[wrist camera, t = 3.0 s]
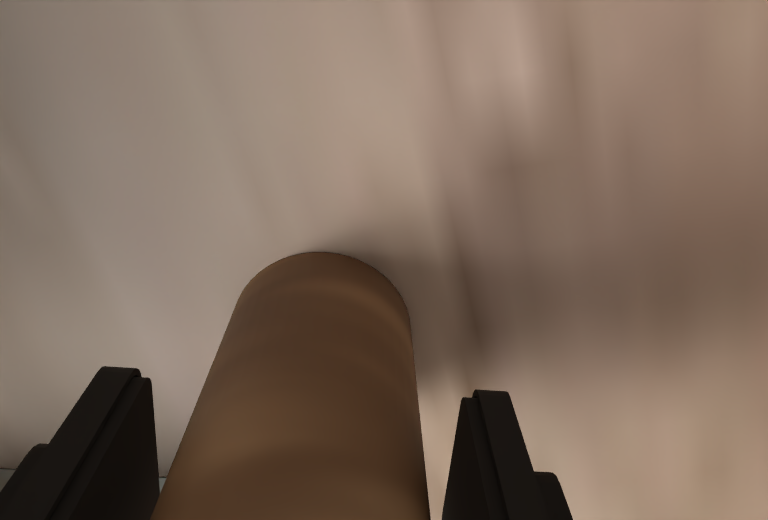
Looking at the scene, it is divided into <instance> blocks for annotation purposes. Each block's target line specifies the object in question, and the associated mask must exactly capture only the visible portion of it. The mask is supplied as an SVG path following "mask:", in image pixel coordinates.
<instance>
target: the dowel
mask: <svg viewBox="0 0 768 520" xmlns="http://www.w3.org/2000/svg"><path fill="white" fill-rule="evenodd" d="M150 520H431V519H430V509H429V500H428V490H427V481H426V471H425V461H424V452H423V442H422V433H421V423H420V413H419V404H418V394H417V385H416V375H415V365H414V356H413V346H412V337H411V327H410V319H409V315H408V311H407V308H406V306H405V303H404V301H403V299H402V297H401V296H400V294H399V292H398V291H397V289H396V288H395V287H394V286H393V285H392V283H391V282H390V281H389V280H388V279H387V278H386V277H385V276H383V275H382V274H381V273H380V272H378V271H377V270H376V269H374V268H373V267H371V266H369V265H367V264H365V263H364V262H362V261H359V260H357V259H354V258H351V257H348V256H344V255H340V254H334V253H327V252H312V253H303V254H298V255H294V256H290V257H287V258H284V259H281V260H279V261H277V262H275V263H273V264H271V265H269V266H268V267H266V268H265V269H263V270H262V271H261V272H259V273H258V274H257V275H256V276H255V277H254V278H253V279H252V280H251V281H250V282H249V283H248V285H247V286H246V287H245V288H244V290H243V292H242V293H241V295H240V297H239V299H238V301H237V304H236V306H235V309H234V311H233V314H232V316H231V319H230V321H229V324H228V326H227V329H226V331H225V334H224V336H223V339H222V341H221V344H220V346H219V349H218V351H217V354H216V356H215V359H214V361H213V364H212V366H211V369H210V371H209V374H208V376H207V379H206V381H205V384H204V386H203V388H202V391H201V393H200V396H199V398H198V401H197V403H196V406H195V408H194V411H193V413H192V416H191V418H190V421H189V423H188V426H187V428H186V431H185V433H184V436H183V438H182V441H181V443H180V446H179V448H178V451H177V453H176V456H175V458H174V461H173V463H172V466H171V468H170V471H169V473H168V476H167V478H166V480H165V483H164V485H163V488H162V490H161V493H160V495H159V498H158V500H157V503H156V505H155V508H154V510H153V513H152V515H151V518H150Z"/></svg>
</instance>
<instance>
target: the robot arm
mask: <svg viewBox="0 0 768 520" xmlns="http://www.w3.org/2000/svg"><path fill="white" fill-rule="evenodd" d="M159 495H160V487H159V474H158V460H157V447H156V434H155V421H154V408H153V394H152V384H151V380H150V379H149V378H143V377H141V373H140V371H139V369H137V368H123V367H107V366H104V367H101V368H100V370H99V371H98V372H97V373H96V375H95V376H94V378H93V379H92V381H91V382H90V384H89V385H88V387H87V388H86V390H85V391H84V393H83V394H82V396H81V397H80V399H79V400H78V401H77V403H76V404H75V406H74V407H73V409H72V410H71V412H70V413H69V415H68V416H67V418H66V419H65V421H64V422H63V424H62V425H61V427H60V428H59V429H58V431H57V432H56V434H55V435H54V437H53V438H52V440H51V441H50V443H49V444H38V445H36V446H34V447H33V448H32V449H31V450H30V451H29V452H28V454H27V455H26V456H25V458H24V459H23V461H22V462H21V463H20V465H19V466H18V468H17V469H16V470H15V472H14V473H13V475H12V476H11V478H10V479H9V480H8V482H7V483H6V485H5V486H4V487H3V489H2V490H1V492H0V520H150V518H151V515H152V513H153V510H154V508H155V505H156V503H157V500H158V498H159ZM442 520H573V518H572V516H571V513H570V510H569V507H568V504H567V502H566V499H565V496H564V493H563V491H562V488H561V485H560V483H559V481H558V478H557V476H556V475H555V474H553V473H551V472H534V471H533V467H532V464H531V461H530V458H529V455H528V452H527V449H526V445H525V442H524V439H523V436H522V433H521V430H520V427H519V423H518V420H517V417H516V414H515V411H514V408H513V405H512V401H511V398H510V396H509V393H508V392H506V391H490V390H475V391H474V393H473V396H472V398H466V397H463V398H462V400H461V404H460V410H459V416H458V422H457V428H456V434H455V441H454V447H453V453H452V459H451V465H450V471H449V477H448V483H447V489H446V495H445V501H444V507H443V513H442Z"/></svg>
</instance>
